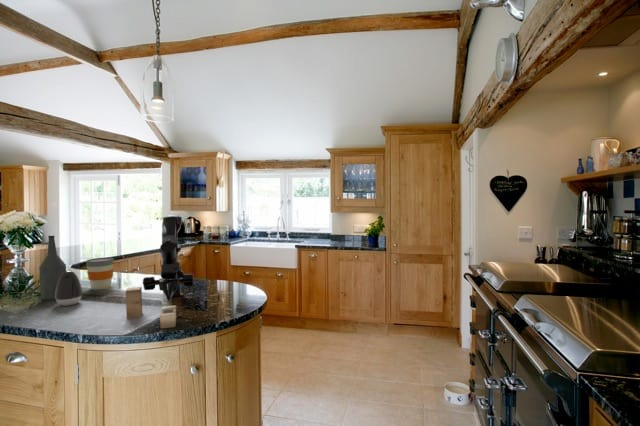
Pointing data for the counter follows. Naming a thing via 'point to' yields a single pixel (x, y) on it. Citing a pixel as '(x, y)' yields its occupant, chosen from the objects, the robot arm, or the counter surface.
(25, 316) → the counter surface
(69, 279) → the aroma diffuser
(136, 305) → the walnut block
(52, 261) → the bottle
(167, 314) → the maple block
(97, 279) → the reusable coffee cup
